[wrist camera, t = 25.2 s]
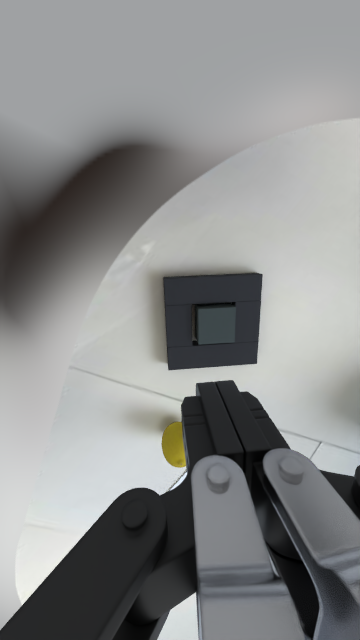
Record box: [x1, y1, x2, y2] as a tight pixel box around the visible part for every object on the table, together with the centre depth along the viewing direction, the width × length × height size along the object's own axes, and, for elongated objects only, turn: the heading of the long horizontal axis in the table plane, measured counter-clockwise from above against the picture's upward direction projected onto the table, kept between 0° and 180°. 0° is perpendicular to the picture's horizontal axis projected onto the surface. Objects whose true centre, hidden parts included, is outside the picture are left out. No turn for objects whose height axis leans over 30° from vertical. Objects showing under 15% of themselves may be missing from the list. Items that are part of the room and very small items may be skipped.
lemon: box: [162, 422, 186, 467], centre depth 38 cm, size 6×6×8 cm
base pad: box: [163, 273, 262, 370], centre depth 36 cm, size 14×14×2 cm
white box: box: [170, 472, 187, 490], centre depth 46 cm, size 8×8×1 cm
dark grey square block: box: [195, 303, 236, 345], centre depth 36 cm, size 5×5×3 cm
